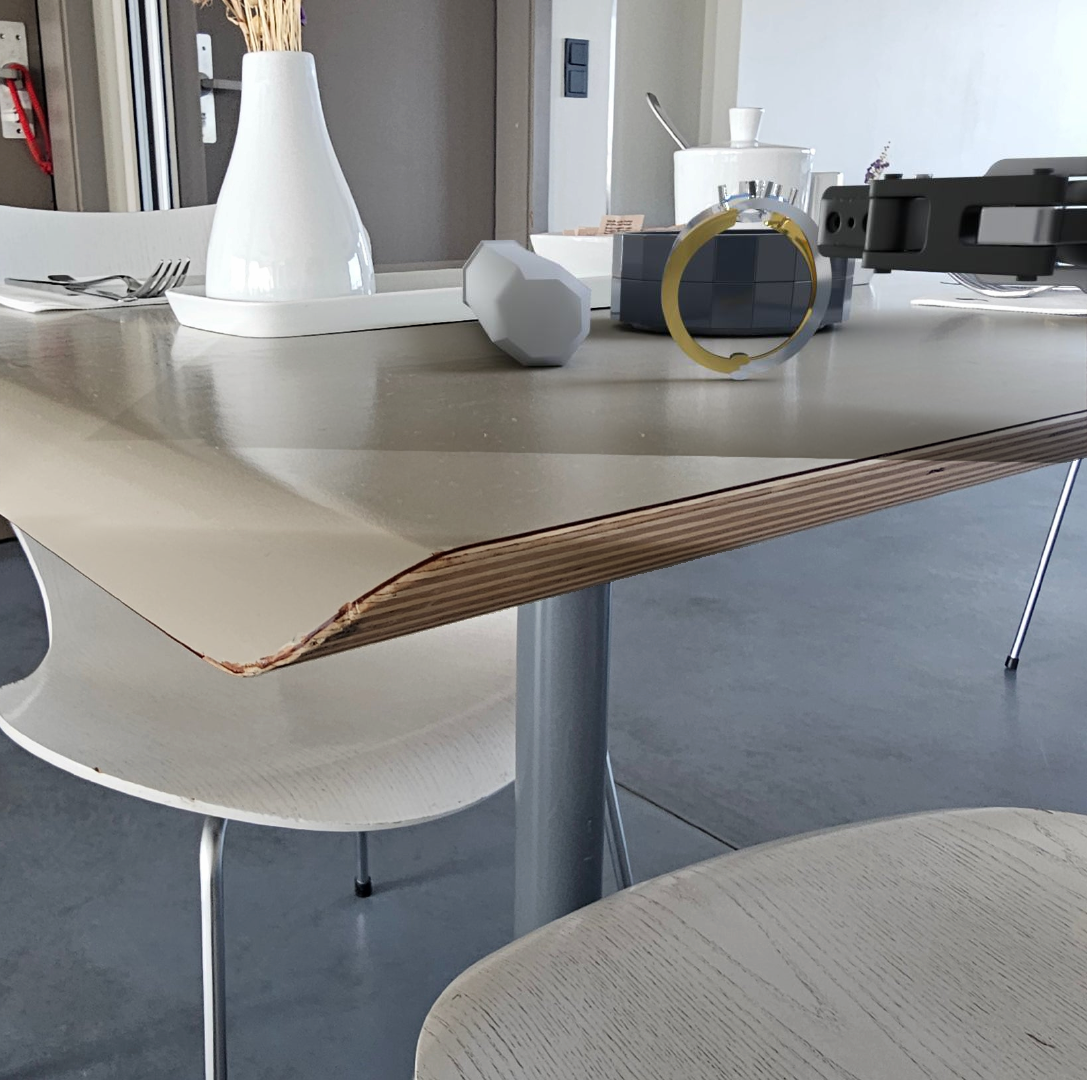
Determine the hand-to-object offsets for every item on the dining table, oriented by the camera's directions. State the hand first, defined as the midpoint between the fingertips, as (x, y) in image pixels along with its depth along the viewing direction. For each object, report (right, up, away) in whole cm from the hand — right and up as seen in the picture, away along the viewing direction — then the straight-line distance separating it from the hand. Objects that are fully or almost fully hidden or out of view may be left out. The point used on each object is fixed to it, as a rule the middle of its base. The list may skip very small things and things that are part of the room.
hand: (922, 219), depth 41 cm
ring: (-4, -3, +10) cm, 11 cm away
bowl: (+1, +5, +32) cm, 32 cm away
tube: (-12, +2, +25) cm, 28 cm away
